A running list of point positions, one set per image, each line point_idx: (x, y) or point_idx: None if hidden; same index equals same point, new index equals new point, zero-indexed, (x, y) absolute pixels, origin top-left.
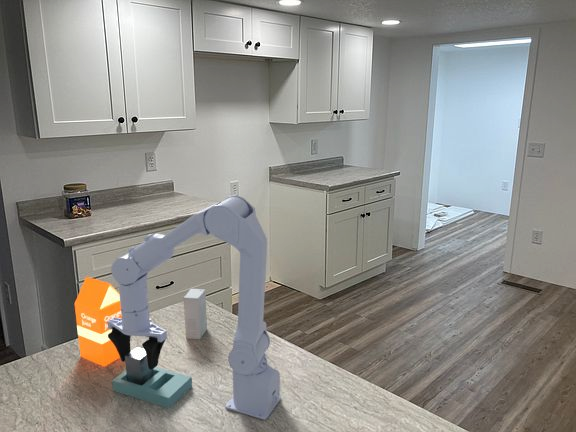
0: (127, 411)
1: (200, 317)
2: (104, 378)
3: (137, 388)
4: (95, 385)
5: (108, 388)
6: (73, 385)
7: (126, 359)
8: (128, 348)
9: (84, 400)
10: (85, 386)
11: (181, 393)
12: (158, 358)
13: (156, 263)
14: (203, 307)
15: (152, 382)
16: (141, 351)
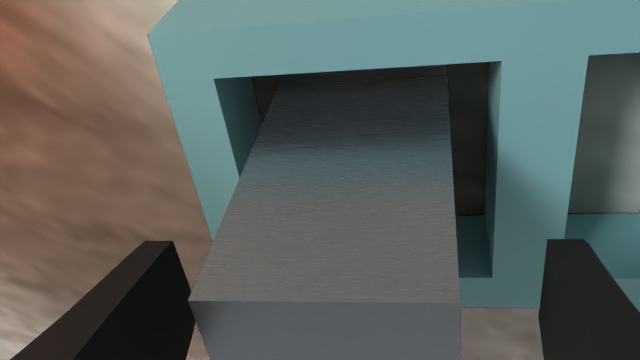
0: (496, 335)
1: None
2: (79, 180)
3: (479, 305)
4: (113, 248)
5: (207, 240)
6: (22, 288)
7: None
8: (123, 338)
9: (201, 344)
10: (80, 273)
11: None
12: (624, 297)
13: None
14: None
15: (552, 221)
16: (336, 350)
